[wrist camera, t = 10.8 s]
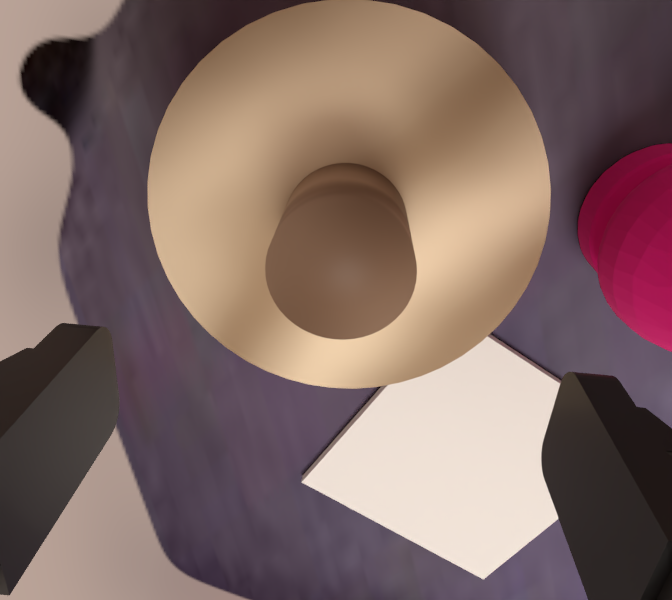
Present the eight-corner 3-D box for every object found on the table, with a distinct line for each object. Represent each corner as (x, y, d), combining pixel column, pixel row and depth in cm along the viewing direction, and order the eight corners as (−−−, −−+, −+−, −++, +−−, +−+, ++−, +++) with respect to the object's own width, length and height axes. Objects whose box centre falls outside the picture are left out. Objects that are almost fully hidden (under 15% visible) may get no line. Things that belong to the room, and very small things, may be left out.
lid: (630, 168, 18) (712, 215, 14) (387, 429, 23) (391, 523, 19) (284, -107, 15) (252, -154, 11) (95, 258, 20) (23, 323, 16)
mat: (647, 436, 30) (651, 443, 29) (481, 571, 35) (483, 579, 34) (450, 307, 27) (451, 312, 26) (302, 475, 32) (301, 482, 31)
